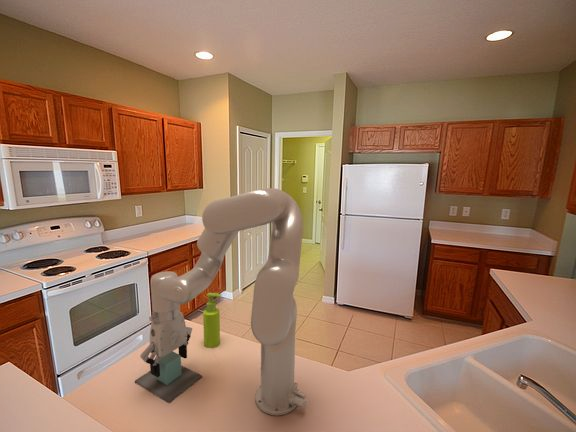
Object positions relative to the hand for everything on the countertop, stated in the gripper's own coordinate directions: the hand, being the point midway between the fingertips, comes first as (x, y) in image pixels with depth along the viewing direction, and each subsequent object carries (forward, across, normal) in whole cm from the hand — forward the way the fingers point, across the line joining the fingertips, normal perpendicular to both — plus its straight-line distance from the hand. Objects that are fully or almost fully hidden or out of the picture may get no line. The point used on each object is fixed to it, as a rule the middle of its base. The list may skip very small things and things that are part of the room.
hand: (170, 365), depth 84 cm
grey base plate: (+5, 0, +1) cm, 5 cm away
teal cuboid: (+4, 0, +1) cm, 4 cm away
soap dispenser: (+5, +21, +3) cm, 22 cm away
